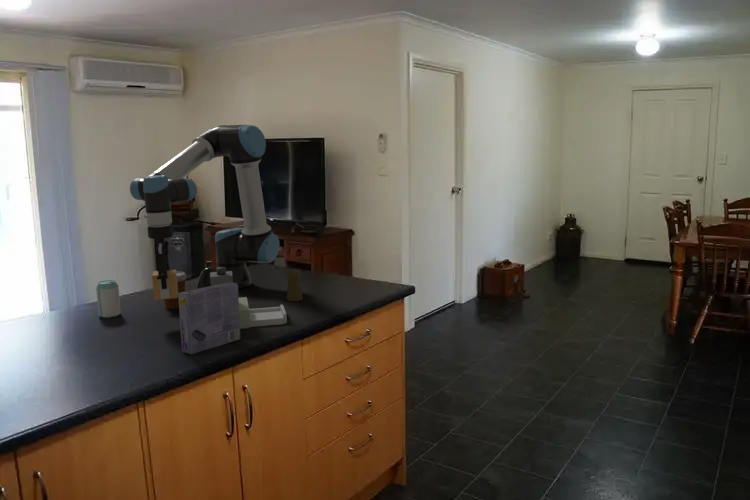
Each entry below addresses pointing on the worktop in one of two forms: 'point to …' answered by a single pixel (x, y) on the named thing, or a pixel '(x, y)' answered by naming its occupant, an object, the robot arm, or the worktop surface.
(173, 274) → the cardboard box
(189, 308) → the cake pan box
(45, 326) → the worktop surface
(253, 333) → the worktop surface
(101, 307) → the can
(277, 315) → the pale green boxy piece
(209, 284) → the pump dispenser
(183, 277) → the disposable coffee cup
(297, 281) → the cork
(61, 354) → the worktop surface
